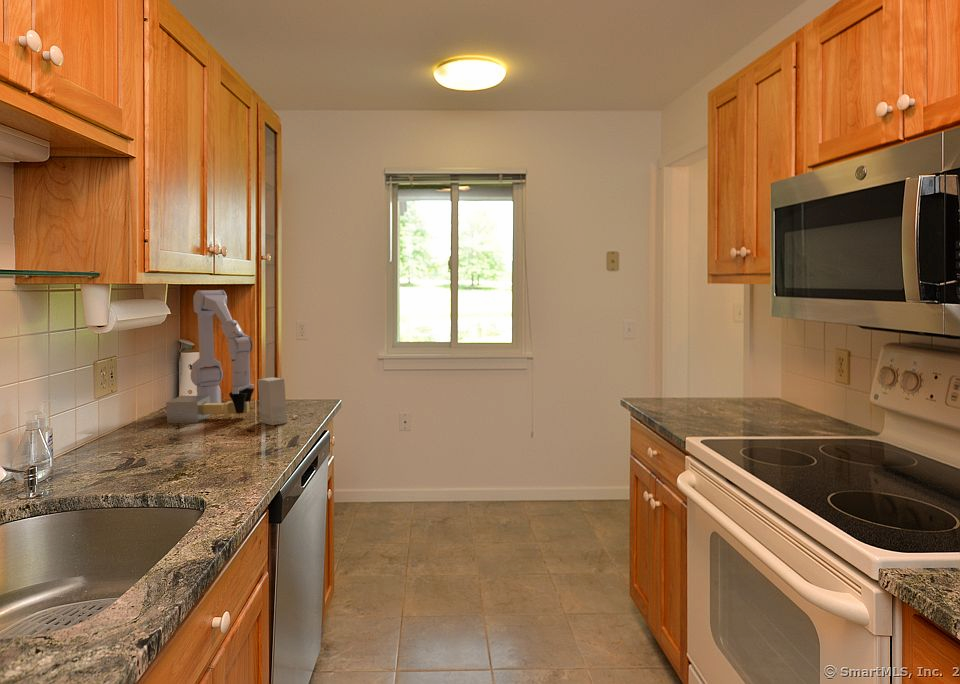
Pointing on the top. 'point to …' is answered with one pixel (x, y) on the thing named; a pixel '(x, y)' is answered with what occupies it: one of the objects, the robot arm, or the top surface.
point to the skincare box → (272, 401)
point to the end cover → (223, 408)
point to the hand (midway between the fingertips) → (242, 411)
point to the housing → (186, 409)
